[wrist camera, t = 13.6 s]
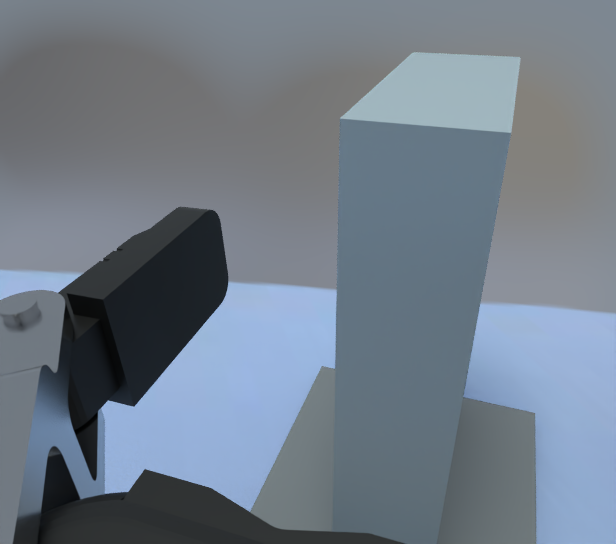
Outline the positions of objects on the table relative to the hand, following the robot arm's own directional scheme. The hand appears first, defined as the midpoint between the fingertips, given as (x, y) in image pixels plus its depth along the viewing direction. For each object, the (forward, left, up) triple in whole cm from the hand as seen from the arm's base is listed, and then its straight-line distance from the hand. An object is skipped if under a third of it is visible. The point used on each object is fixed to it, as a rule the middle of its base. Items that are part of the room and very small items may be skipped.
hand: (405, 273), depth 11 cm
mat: (+1, -9, -17) cm, 19 cm away
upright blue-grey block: (0, -9, -16) cm, 18 cm away
